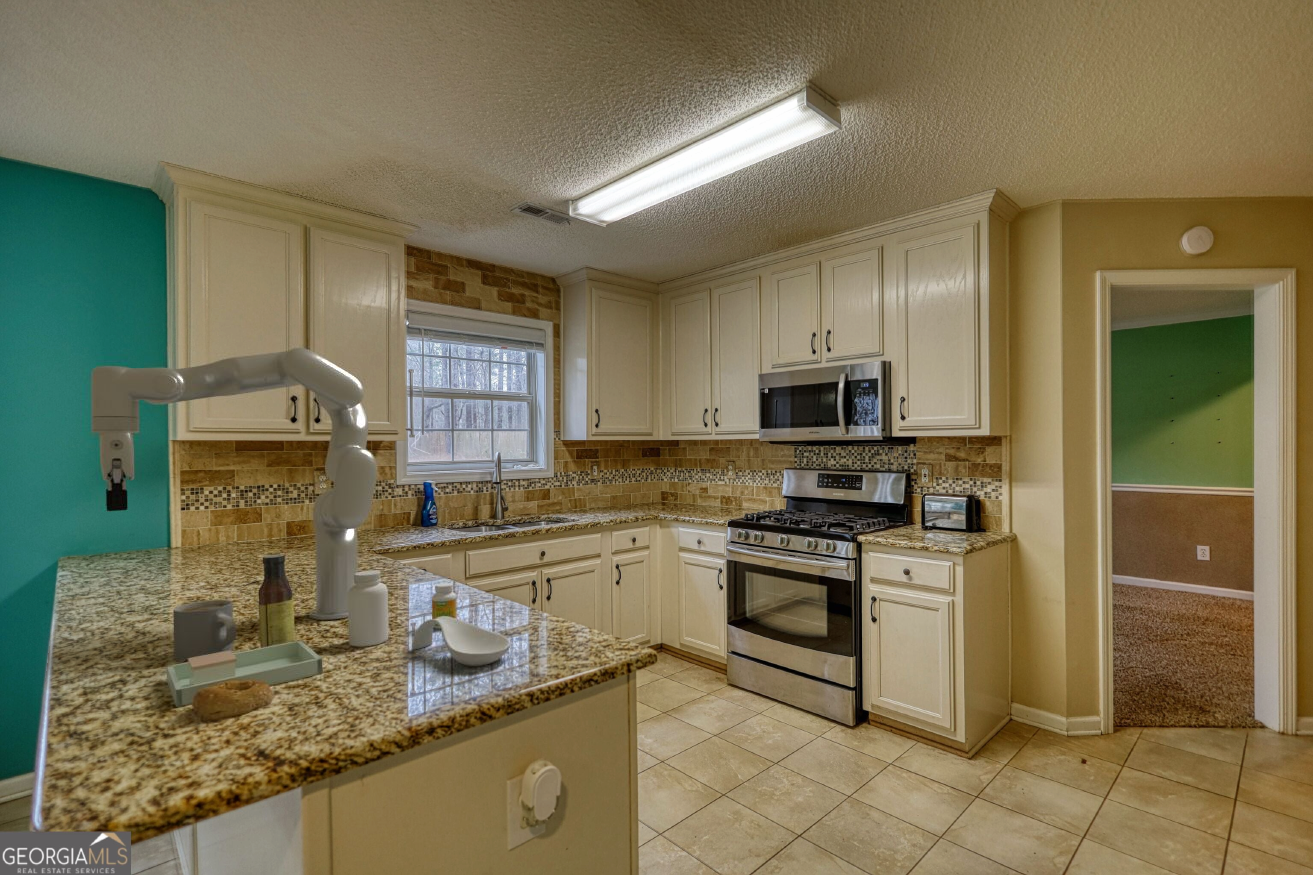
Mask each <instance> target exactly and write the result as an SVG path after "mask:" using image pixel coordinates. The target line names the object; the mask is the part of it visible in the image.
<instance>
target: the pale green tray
mask: <svg viewBox="0 0 1313 875" xmlns="http://www.w3.org/2000/svg"><path fill="white" fill-rule="evenodd" d="M232 653H233V654H234V655H235V657H236V658H237V662H235V676H233V677H228V678H224V679H219V680H214V681H210V682H205V683H200V684H196V685H191V686H190V684H189V663H188V661H186V662H181V663H177V664H172V665H171V664H170V665H167V666H166V682H167V685H168V689H169V691H170V694H171V696H172V699H173V702H174V704H175V707H176V708H179V707H183V706H184V707H185V706H187V705H192V702H193V698H194V696H195V694H196V693H197V692H198V691H199V690H201V689H203V688H206V687H209V686H212V685H215V684H217V683H221V682H227V681H232V680H237V681H246V680H250V681H256V680H258V681H261V682H264V683H266V684H268V685H269V687H271V686H274V685H279V684H283V683H287V682H292V681H297V680H300V679H305V678H311V677H314V676H318V675H322V674H323V658H322V657H321V656H320V655H319V654H318V653H316V652H315V651H314V650H313V649H312V648H311V647H310V646H308V644H306V643H305V642H303V641H302V640H301V639H300V640H295V641H294V642H289V643H284V644H279V645H274V646H268V647H263V648H262V647H259V648H254V649H253V648H252V649H249V650H244V651H238V652H235V653H234V652H232Z"/></svg>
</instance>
